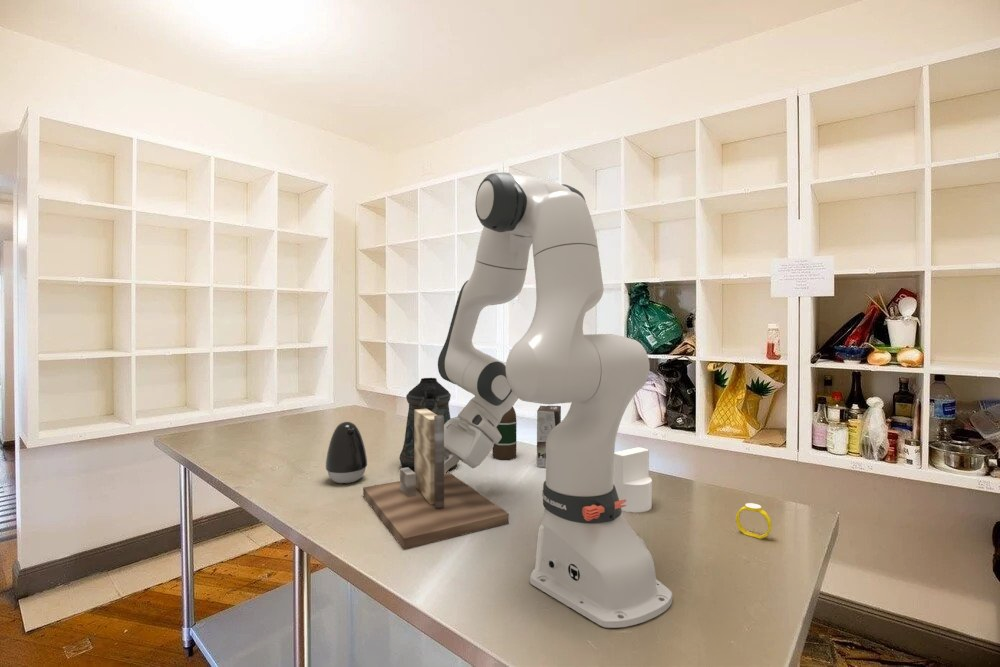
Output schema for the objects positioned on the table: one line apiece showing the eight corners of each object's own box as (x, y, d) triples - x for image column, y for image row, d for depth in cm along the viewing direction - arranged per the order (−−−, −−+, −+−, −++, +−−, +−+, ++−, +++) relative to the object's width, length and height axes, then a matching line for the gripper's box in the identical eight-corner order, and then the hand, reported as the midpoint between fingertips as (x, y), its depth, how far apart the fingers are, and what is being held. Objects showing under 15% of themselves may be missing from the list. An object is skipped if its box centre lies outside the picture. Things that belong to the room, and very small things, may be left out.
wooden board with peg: (508, 523, 96) (508, 489, 96) (404, 549, 85) (403, 511, 85) (449, 480, 122) (449, 453, 122) (363, 495, 111) (363, 466, 111)
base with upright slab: (632, 515, 100) (633, 459, 100) (601, 502, 107) (602, 449, 107) (660, 506, 105) (660, 453, 105) (628, 494, 112) (629, 444, 112)
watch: (735, 535, 91) (733, 504, 92) (739, 530, 94) (737, 500, 94) (770, 542, 88) (767, 510, 88) (773, 537, 90) (771, 506, 90)
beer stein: (440, 454, 145) (439, 373, 145) (475, 470, 130) (475, 380, 129) (389, 464, 135) (389, 377, 134) (422, 483, 120) (421, 385, 119)
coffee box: (559, 468, 132) (559, 411, 131) (536, 467, 133) (536, 410, 132) (561, 459, 140) (561, 405, 140) (539, 458, 142) (540, 404, 141)
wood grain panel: (447, 506, 99) (447, 416, 98) (433, 508, 98) (433, 417, 97) (426, 483, 113) (426, 404, 112) (414, 485, 112) (414, 405, 111)
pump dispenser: (333, 490, 115) (332, 428, 114) (320, 478, 123) (320, 420, 123) (373, 481, 121) (373, 422, 120) (359, 471, 129) (358, 416, 129)
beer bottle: (521, 458, 141) (521, 378, 140) (497, 461, 138) (497, 379, 137) (511, 452, 148) (511, 375, 147) (487, 454, 145) (488, 376, 145)
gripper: (450, 406, 119) (414, 450, 115) (487, 422, 101) (445, 475, 97) (466, 421, 122) (431, 465, 117) (505, 440, 104) (465, 492, 99)
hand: (438, 469), depth 107 cm, fingers closed
